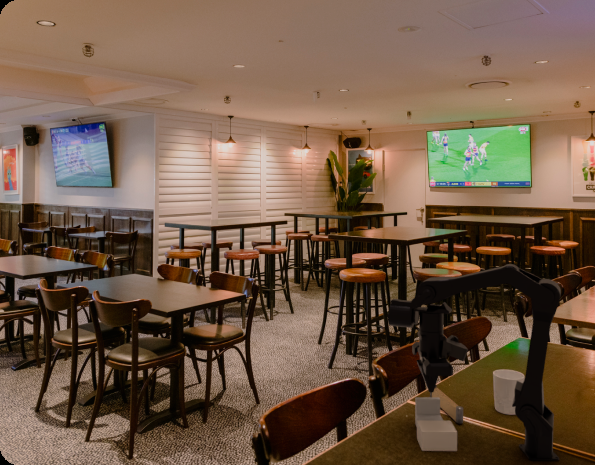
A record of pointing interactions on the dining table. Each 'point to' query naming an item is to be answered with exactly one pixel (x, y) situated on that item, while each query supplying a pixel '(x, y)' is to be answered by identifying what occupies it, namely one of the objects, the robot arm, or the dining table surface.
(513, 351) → the dining table surface
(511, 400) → the white cup
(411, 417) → the dining table surface
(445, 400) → the tan long bar
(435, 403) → the grey l-shaped block
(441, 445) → the socket block
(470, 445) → the dining table surface
